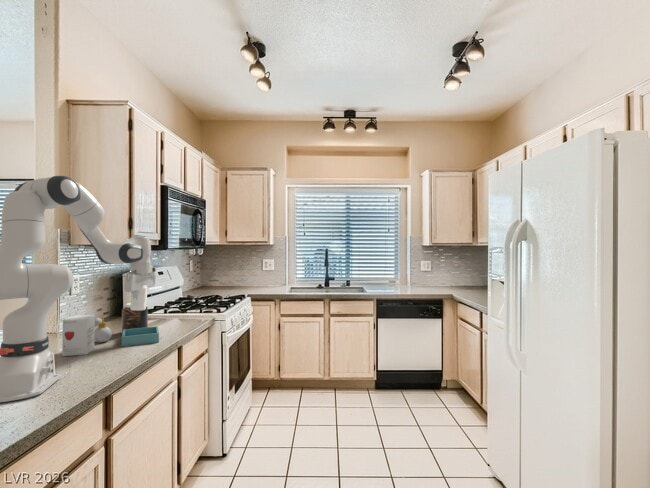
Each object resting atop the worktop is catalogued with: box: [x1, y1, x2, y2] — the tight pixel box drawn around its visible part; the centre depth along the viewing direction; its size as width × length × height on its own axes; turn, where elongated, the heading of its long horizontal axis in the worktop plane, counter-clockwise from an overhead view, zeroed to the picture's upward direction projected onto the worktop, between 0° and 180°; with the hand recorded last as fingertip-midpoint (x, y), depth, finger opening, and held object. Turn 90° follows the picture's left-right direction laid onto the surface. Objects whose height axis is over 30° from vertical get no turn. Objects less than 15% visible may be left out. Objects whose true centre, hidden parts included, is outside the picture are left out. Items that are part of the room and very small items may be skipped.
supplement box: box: [61, 314, 95, 357], centre depth 147 cm, size 9×9×15 cm
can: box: [130, 284, 148, 311], centre depth 165 cm, size 6×6×12 cm
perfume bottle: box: [94, 316, 113, 344], centre depth 162 cm, size 8×10×12 cm
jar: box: [121, 302, 149, 334], centre depth 180 cm, size 12×12×15 cm
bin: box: [121, 325, 160, 347], centre depth 165 cm, size 15×15×4 cm
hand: (140, 298), depth 165 cm, fingers closed on can, 5 cm apart
